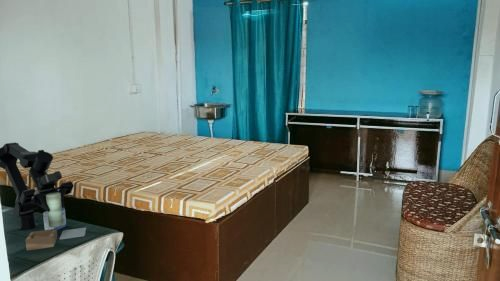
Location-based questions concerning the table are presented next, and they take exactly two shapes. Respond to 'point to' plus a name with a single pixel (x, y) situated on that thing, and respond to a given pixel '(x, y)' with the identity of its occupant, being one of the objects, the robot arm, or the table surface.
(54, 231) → the pocket frame
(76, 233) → the slate pad
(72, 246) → the table surface
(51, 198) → the pale green cylinder
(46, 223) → the medicine box
